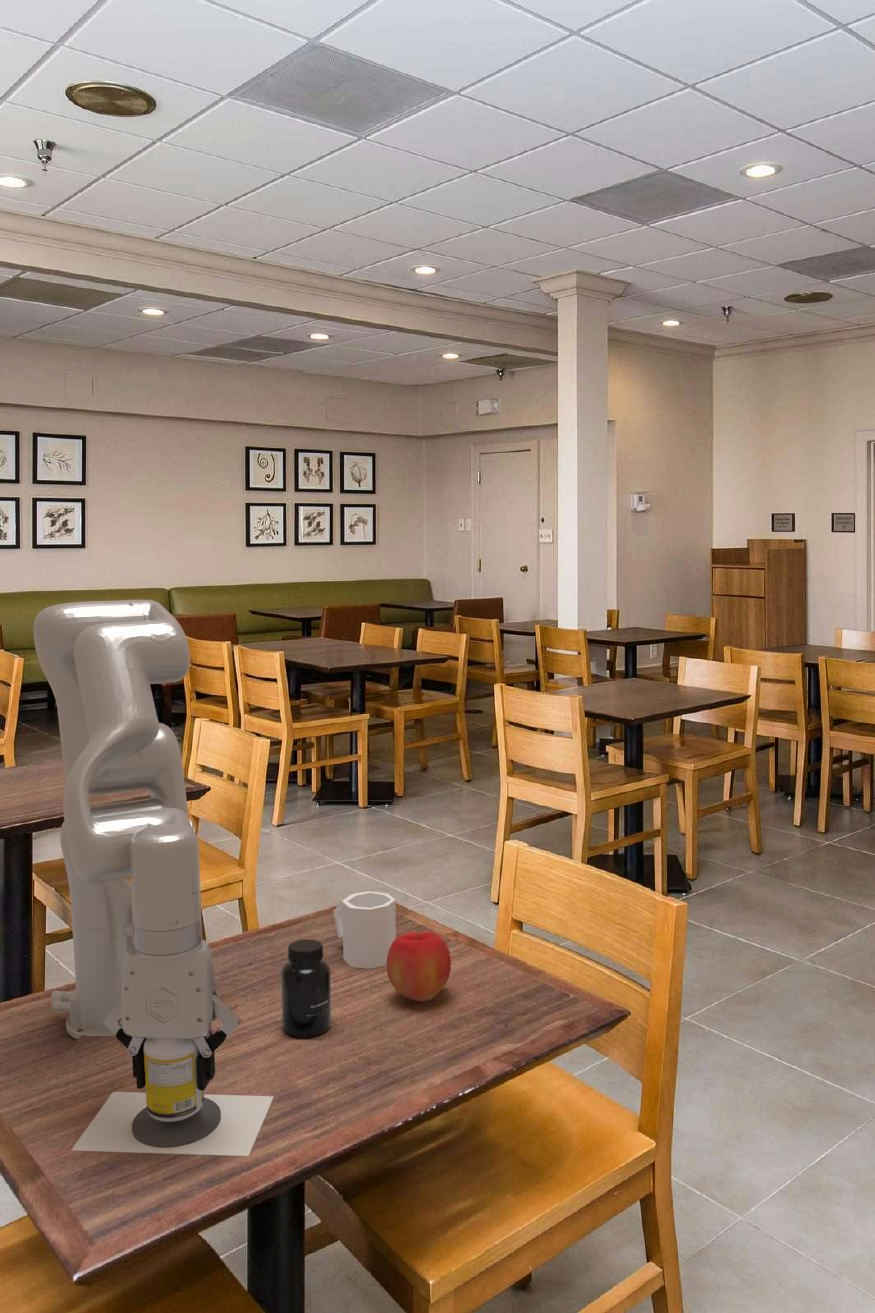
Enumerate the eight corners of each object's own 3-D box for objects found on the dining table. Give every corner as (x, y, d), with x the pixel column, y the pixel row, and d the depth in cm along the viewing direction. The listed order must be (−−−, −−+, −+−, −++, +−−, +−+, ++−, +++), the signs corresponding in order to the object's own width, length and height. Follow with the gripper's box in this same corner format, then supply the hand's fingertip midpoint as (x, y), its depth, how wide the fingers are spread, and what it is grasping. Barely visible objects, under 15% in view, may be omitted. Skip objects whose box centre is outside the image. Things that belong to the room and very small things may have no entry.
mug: (406, 956, 167) (405, 898, 166) (368, 973, 161) (367, 913, 160) (355, 938, 175) (353, 883, 174) (317, 954, 169) (315, 896, 168)
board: (71, 1160, 114) (71, 1150, 113) (113, 1100, 125) (113, 1091, 125) (248, 1166, 112) (248, 1155, 112) (274, 1105, 124) (273, 1096, 124)
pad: (118, 1146, 114) (118, 1142, 114) (150, 1097, 124) (149, 1094, 124) (206, 1148, 113) (206, 1145, 113) (231, 1099, 123) (231, 1096, 123)
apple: (461, 1005, 150) (461, 939, 149) (400, 1017, 146) (399, 950, 145) (437, 979, 159) (436, 917, 158) (379, 990, 155) (378, 926, 154)
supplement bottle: (322, 1041, 140) (320, 957, 138) (275, 1036, 141) (272, 953, 140) (337, 1017, 146) (335, 937, 145) (292, 1014, 148) (289, 934, 146)
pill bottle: (181, 1087, 123) (177, 995, 122) (216, 1105, 119) (212, 1011, 118) (135, 1111, 118) (130, 1015, 117) (169, 1131, 114) (164, 1032, 113)
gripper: (80, 946, 113) (88, 1099, 115) (234, 949, 112) (239, 1103, 114) (106, 920, 120) (114, 1064, 123) (251, 923, 119) (256, 1068, 121)
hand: (174, 1082), depth 118 cm, fingers closed on pill bottle, 6 cm apart
